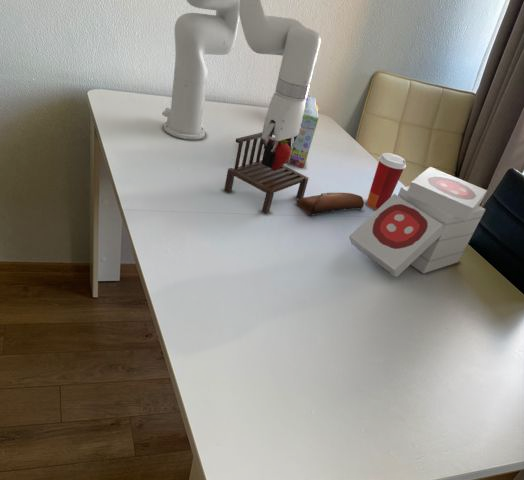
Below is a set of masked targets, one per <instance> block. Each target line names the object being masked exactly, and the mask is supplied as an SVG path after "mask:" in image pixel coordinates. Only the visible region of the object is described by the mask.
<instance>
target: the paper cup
mask: <svg viewBox="0 0 524 480" xmlns="http://www.w3.org/2000/svg"><path fill="white" fill-rule="evenodd" d="M377 161H378V162H377V166H376V168H375V169H376V170H375V173H374V176H373V179H372V183H371V185H370V186H371V187H370V190H369V193H368V196H367V201H366V205H367V206H368V207H369V208H371V209H373V210H375V211H376V210H377V209H379V208H380V207H381V206H382V205H383V204H384V203H385V202H386V201H387V200H388V199H389V198H390V197H391V196H392V195H393V194H394V191H395V189H396V187H397V185H398V182H399V181H400V179H401V177H402V174H403V172H404V170H405V169H406V168H407V165H406V164H407V161H406V159H405V158H404V157H402V156H400V155H398V154H395V153H390V152H383V153H382V154H381V155H379V156H378V157H377Z"/></svg>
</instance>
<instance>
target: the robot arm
mask: <svg viewBox="0 0 524 480" xmlns="http://www.w3.org/2000/svg"><path fill="white" fill-rule="evenodd" d="M186 2H187V3H188V4H189V5H190V6H192V7H194V8H197V9H203V10H210V11H215V15H214V14H207V13H198V12H187V13H183V14H181V15H180V16H178V18H177V19H176V20H175V23H174V44H175V45H174V46H175V48H174V49H175V55H174V56H175V57H174V71H173V83H172V94H171V103H170V107H166V108H165V109H164V110H163V111H162V112H161V115H162V116H163V117H165V118H167V119H166V122H164V123H163V130H164V131H165V132H166V133H167V134H169V135H170V136H172V137H176V138H179V139H182V140H188V141H189V140H193V141H194V140H201V139H203V138H205V136H206V130H205V128H204V127H202V122H203V116H204V115H203V114H204V107H205V100H206V93H207V86H208V85H207V84H208V77H209V70H208V66H207V64H206V61H205V59H204V56H205V55H216V56H218V55H219V56H223V55H224V56H225V55H228V54H230V53H231V52H232V51H233V49H234V48H235V45H236V40H237V35H238V30H239V24H240V25H241V29H242V32H243V35H244V38H245V41H246V43H247V45H248V47H249V48H250V50H251V51H252V52H254V53H256V54H259V55H271V56H272V55H274V56H282V58H281V62H280V67H279V72H278V76H277V81H276V86H275V91H274V93H273V95H272V97H271V99H270V102H269V105H268V109H267V112H266V114H265V119H264V123H263V127H262V132H263V135H262V136H261V140H262V142H263V153H262V154H263V155H262V157H261V158H262V159H261V160H262V164H263V165H265V166H267V167H269V168H272V167H273V164H274V160H275V155H276V152H275V150H276V147H277V145H278V143H279V141H281V140H287V141H289V142H287V143H288V145H289V146H290V149H292V147H293V146H294V141H295V140H296V138H297V136H298V134H299V133H300V131H301V128H300V127H301V123H302V119H303V114H304V108H305V101H306V98H307V95H309V90H310V86H311V82H312V78H313V74H314V70H315V66H316V62H317V58H318V54H319V51H320V46H321V42H322V39H321V38H322V37H321V35H320V34H319V32H317V31H315V30H313V29H310V28H307V27H306V26H305V25H303V23H302V22H300V21H299V20H297V19H295V18H290V17H282V16H276V15H266V14H265V12H264V8H263V4H262V0H186ZM273 136H274V137H273ZM271 140H273V141H274V143H273V146H272V143H271V142H270V141H271ZM285 164H289V159H288V161H287V162H286V163H285Z"/></svg>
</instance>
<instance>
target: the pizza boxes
mask: <svg viewBox="0 0 524 480" xmlns="http://www.w3.org/2000/svg"><path fill="white" fill-rule="evenodd" d="M487 192H488V189H484V188H482V187H480V186H477V185H475V184H473V183H471V182H468V181H466V180H463V179H461V178H459V177H457V176H453V175H452V174H449V173H447V172H445V171H442V170H439V169H437V168H434V167H432V166H429V167H427V168H426V169H425V170H424V171H423V172H422V173H420V174H419V175H417V176H416V177H415V178H414V179H413V180H412V181H411V182H410V183H409V185H405V186H401V187H400V188H399V191H398V194H396V193H393V194H392V196H391V197H390V198H389V199H388V200H387V201H386V202H385V203H384V204H383V205H382V206H381V207H380V208H379V209H377V210H375V211H374V212H373V213H372V214H371V215H369V217H368V218H367V219H366V220H365V221H363V222H362V223H361V224H360V225H359V226H358V227H357V228H356V229H355V230H354V231H352V233H351V234H350V235H348V238H349V241H350V244H351V245H352V246H354V247H355V248H356V249H358V251H360V252H361V253H363V254H364V255H365V256H367V257H368V258H370V259H371V260H372V261H374V262H375V263H376V264H378V265H379V266H380V267H382V268H383V269H384V270H386V271H387V272H388V273H389V274H391V275H392V276H393V277H394V278H398V277H399V275H401V274H402V273H403V272H404V271H405V270H406V269H407V268H409V266H412V267H414V268H415V269H416V270H418V271H419V272H421V273H422V274H426V273H429V272H432V271H435V270H438V269H441V268H444V267H447V266H451V265H455V264H457V263H459V261H460V260H461V257H462V256H463V254H464V252H465V250H466V248H467V246H468V244H469V243H470V240H471V239H472V237H473V235H474V233H475V232H476V229H477V227H478V225H479V223H480V221H481V220H482V217H483V216H484V214H485V212H486V208H484V207H482V206H480V205H481V203H482V201H483V200H484V198H485V196H486V194H487Z"/></svg>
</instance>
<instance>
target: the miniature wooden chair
mask: <svg viewBox="0 0 524 480" xmlns="http://www.w3.org/2000/svg"><path fill="white" fill-rule="evenodd" d="M262 135H263V131H262V132H257V133H253V134H250V135H246V136H245V135H244V136H241V137H237V138H235V143H237V144H238V146H237V150H236V151H237V152H236V157H235V161H234V167H229V168H227V173H226V179H225V183H224V188H223V189H224V190H223V191H224V192H225V193H227V194H229V193H232V191H233V185H234V180H235V178H237V179H240V180H241V181H243V182H245V183H246V184H248V185H250V186H252V187H254V188H255V189H257V190H259V191H261V192H263V193H265V196H264V200H263V205H262V210H261V213H263V214H266V215H268V214H269V213H270V211H271V207H272V203H273V202H272V201H273V199H274V194H275V193H277V192H281V191H283V190H285V189H287V188H290V187H293V186H296V185H298V184H299V186H298V188H297V189H298V190H297V193H296V196H295V198H296V199H297V200H298V199H301V198H305V197H304V196H305V193H306V189H307V185H308V183H309V182H308V181H309V179H310V177H309V176H307V175H304V174H302V173H300V172H298V171H296V170H295V169H292V168H290V167H288V166H286V165H285V164H284V165H283V166H281V167H280V168H278V169H277V170H276V171H273V170H272V169H271V168H269V167H267V166H265V165H263V164H262V159H261V158H262V152H263V148H264V145H263V142H262V140H261V136H262ZM258 140H259V143H258ZM251 141H252V145H251ZM244 143H245V146H244ZM257 145H258V148H257ZM243 146H244V152H243ZM250 146H251V149H250ZM256 148H257V153H256ZM249 150H251V151H250V155H249ZM242 152H243V156H242ZM255 154H256V155H255ZM241 156H242V162H241V161H240V160H241ZM255 156H256V158H255ZM248 157H249V160H248ZM254 158H255V159H254ZM254 160H255V161H254ZM247 161H248V163H247ZM240 162H241V165H240Z"/></svg>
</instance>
